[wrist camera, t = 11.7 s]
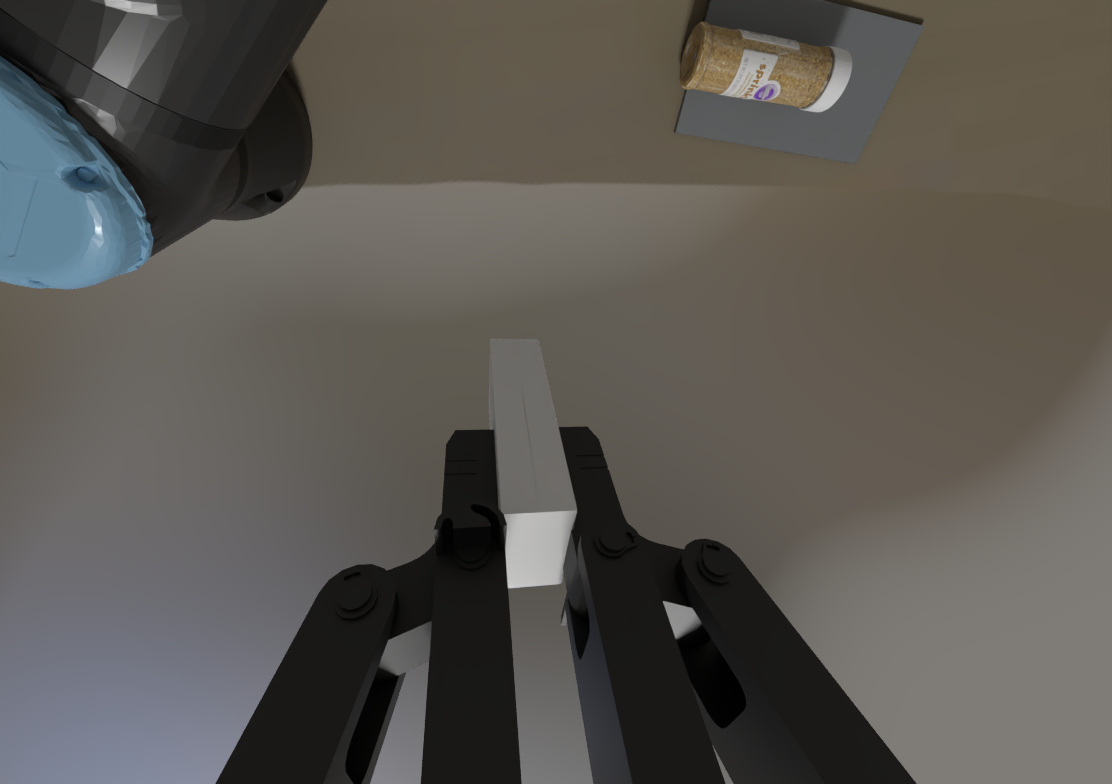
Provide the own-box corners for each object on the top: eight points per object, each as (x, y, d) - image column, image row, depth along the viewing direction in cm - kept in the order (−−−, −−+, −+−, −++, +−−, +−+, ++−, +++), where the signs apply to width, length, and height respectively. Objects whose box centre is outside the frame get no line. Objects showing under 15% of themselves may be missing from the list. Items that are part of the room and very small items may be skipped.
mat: (673, 132, 41) (675, 132, 41) (716, -26, 35) (718, -27, 35) (853, 163, 45) (855, 163, 45) (920, 26, 39) (924, 26, 39)
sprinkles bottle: (699, 73, 34) (848, 100, 36) (707, 5, 33) (860, 37, 36) (674, 99, 38) (809, 121, 41) (680, 39, 38) (818, 66, 40)
